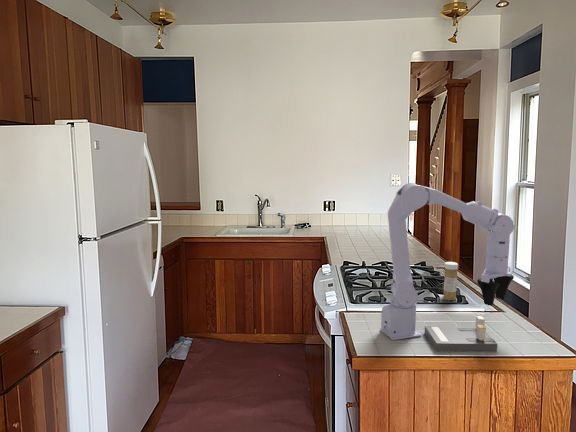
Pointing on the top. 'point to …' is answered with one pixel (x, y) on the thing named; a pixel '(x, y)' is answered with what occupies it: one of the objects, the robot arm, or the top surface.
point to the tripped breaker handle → (480, 332)
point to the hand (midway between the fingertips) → (494, 301)
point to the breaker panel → (458, 339)
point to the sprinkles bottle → (450, 280)
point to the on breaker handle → (480, 320)
